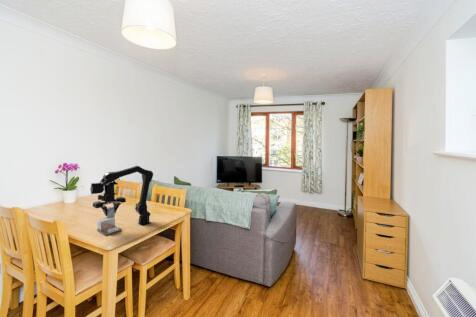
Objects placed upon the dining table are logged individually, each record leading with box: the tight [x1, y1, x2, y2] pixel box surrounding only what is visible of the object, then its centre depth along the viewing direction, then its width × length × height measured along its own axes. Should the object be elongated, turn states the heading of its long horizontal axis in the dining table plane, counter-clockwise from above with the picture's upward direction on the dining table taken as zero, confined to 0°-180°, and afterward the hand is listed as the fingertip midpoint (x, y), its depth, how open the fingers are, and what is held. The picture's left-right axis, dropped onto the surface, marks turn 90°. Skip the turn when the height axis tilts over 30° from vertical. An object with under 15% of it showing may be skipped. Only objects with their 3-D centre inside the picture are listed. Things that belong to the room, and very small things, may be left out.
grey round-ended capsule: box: [105, 206, 116, 218], centre depth 152 cm, size 5×5×6 cm
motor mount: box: [96, 217, 123, 237], centre depth 154 cm, size 10×13×7 cm
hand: (110, 214), depth 152 cm, fingers closed on grey round-ended capsule, 5 cm apart
